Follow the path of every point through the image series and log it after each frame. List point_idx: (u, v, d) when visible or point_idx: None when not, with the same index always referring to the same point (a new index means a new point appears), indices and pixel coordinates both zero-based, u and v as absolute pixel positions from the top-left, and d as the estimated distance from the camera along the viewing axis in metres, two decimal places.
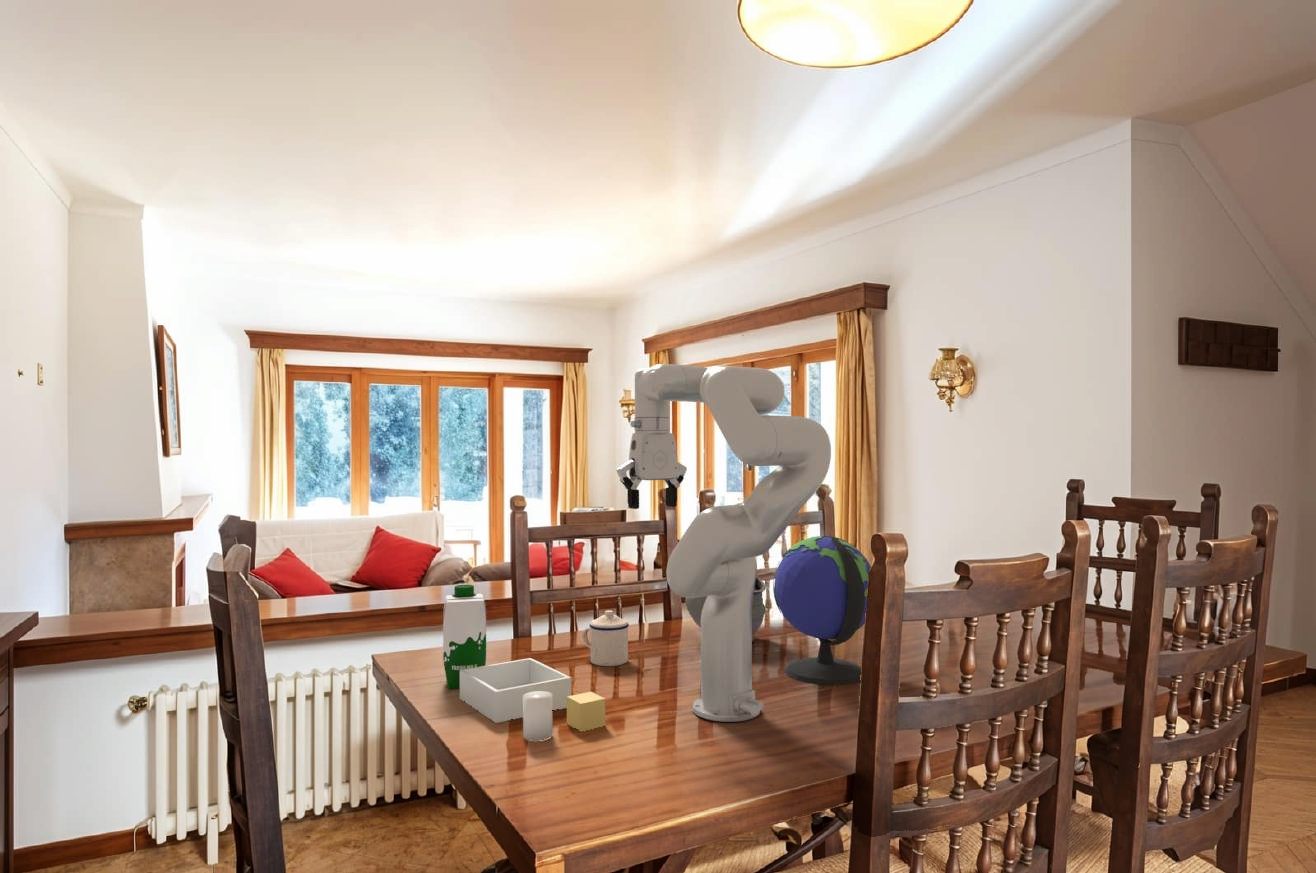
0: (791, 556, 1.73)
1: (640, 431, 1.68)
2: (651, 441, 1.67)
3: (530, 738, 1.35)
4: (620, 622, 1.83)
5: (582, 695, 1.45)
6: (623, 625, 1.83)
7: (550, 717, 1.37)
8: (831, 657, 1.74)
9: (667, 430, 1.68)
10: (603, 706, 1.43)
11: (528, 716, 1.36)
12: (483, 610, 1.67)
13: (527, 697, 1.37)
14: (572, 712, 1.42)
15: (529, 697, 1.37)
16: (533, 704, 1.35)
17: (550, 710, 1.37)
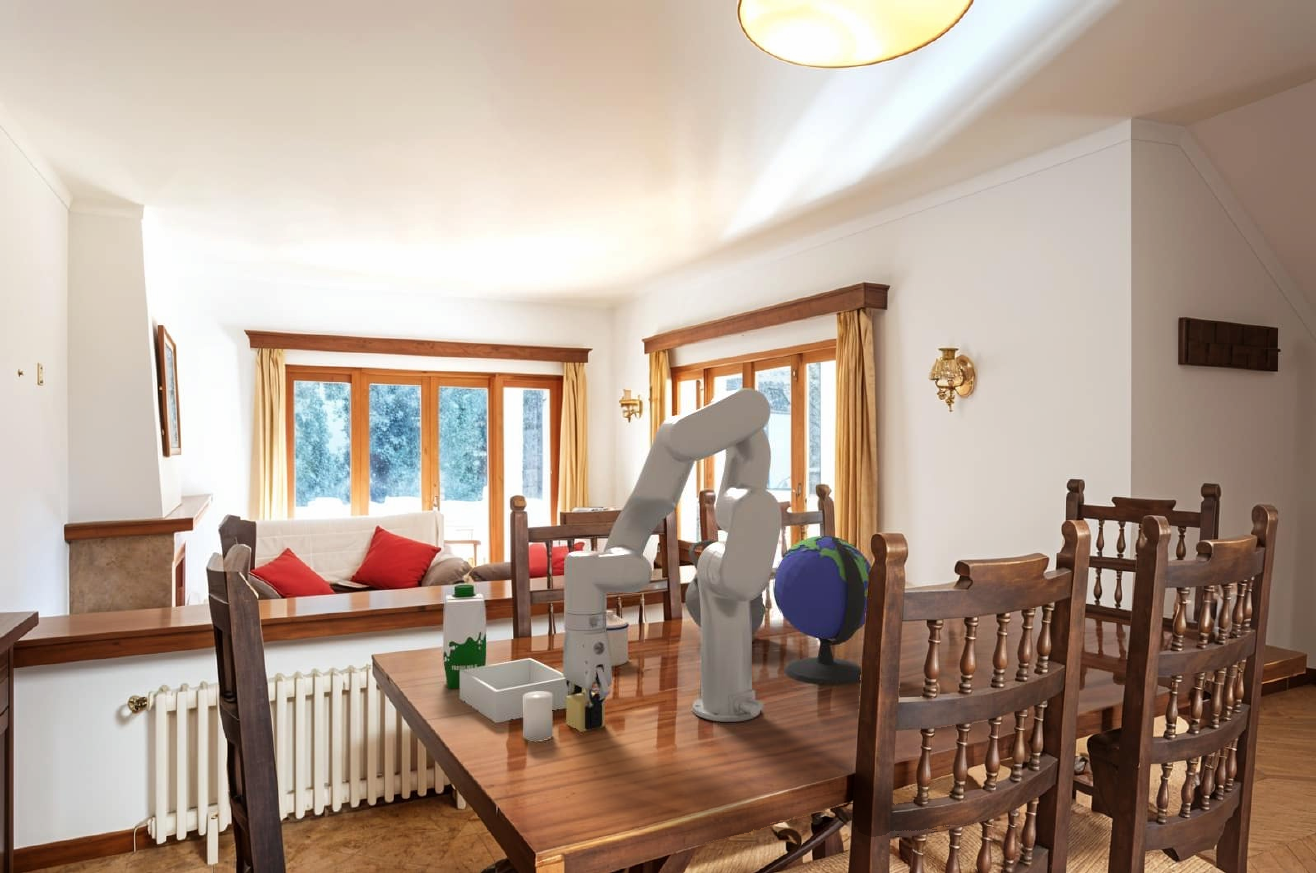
0: (791, 556, 1.73)
1: (599, 630, 1.41)
2: None
3: (530, 738, 1.35)
4: (620, 622, 1.83)
5: (582, 695, 1.44)
6: (623, 625, 1.83)
7: (550, 717, 1.37)
8: (831, 657, 1.74)
9: None
10: (603, 706, 1.42)
11: (528, 716, 1.36)
12: (483, 610, 1.67)
13: (527, 697, 1.37)
14: (572, 712, 1.42)
15: (529, 697, 1.37)
16: (533, 704, 1.35)
17: (550, 710, 1.37)
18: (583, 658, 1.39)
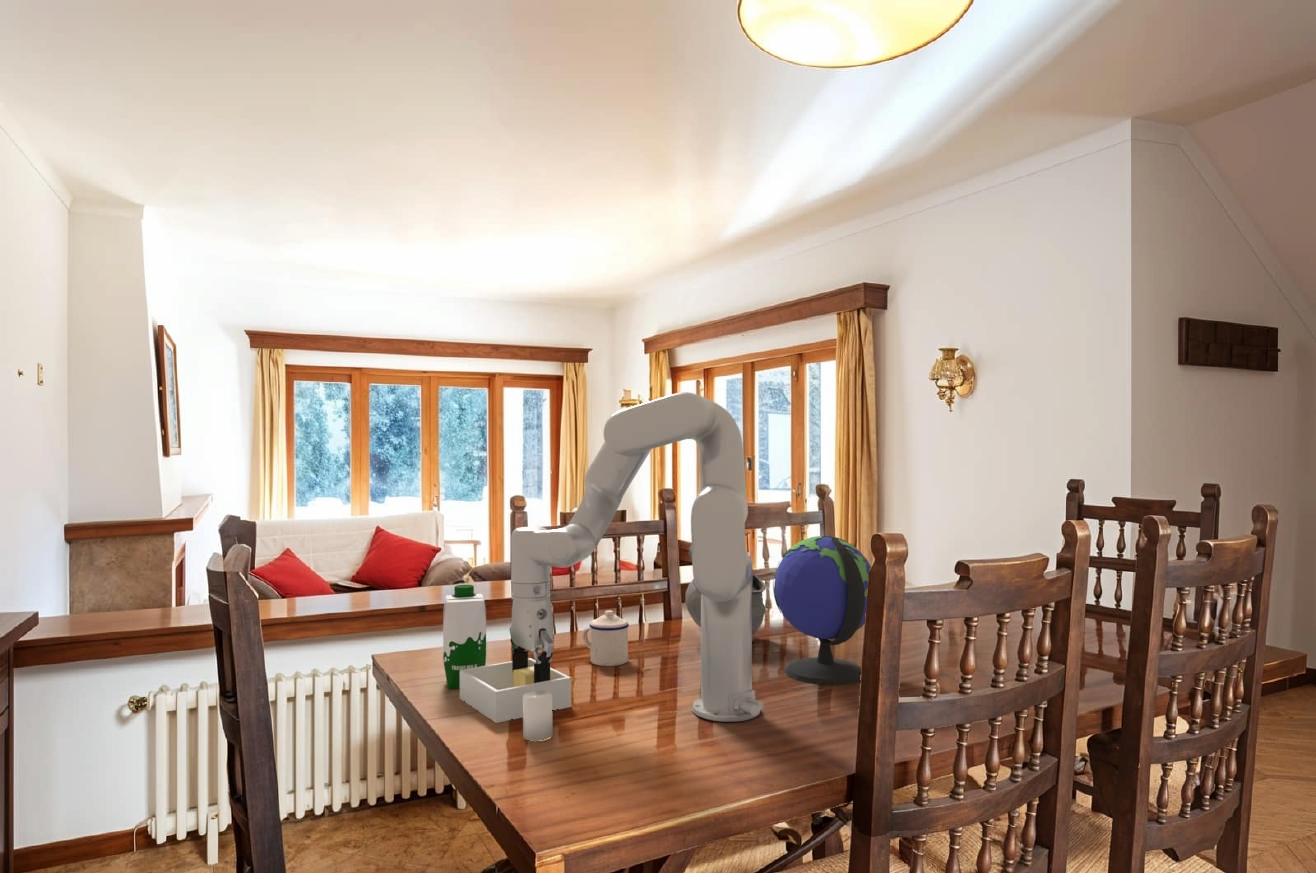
0: (791, 556, 1.73)
1: (542, 597, 1.56)
2: None
3: (530, 738, 1.35)
4: (620, 622, 1.83)
5: (527, 669, 1.59)
6: (623, 625, 1.83)
7: (550, 717, 1.37)
8: (831, 657, 1.74)
9: None
10: None
11: (528, 716, 1.36)
12: (483, 610, 1.67)
13: (527, 697, 1.37)
14: (518, 684, 1.57)
15: (529, 697, 1.37)
16: (533, 704, 1.35)
17: (550, 710, 1.37)
18: (527, 622, 1.54)
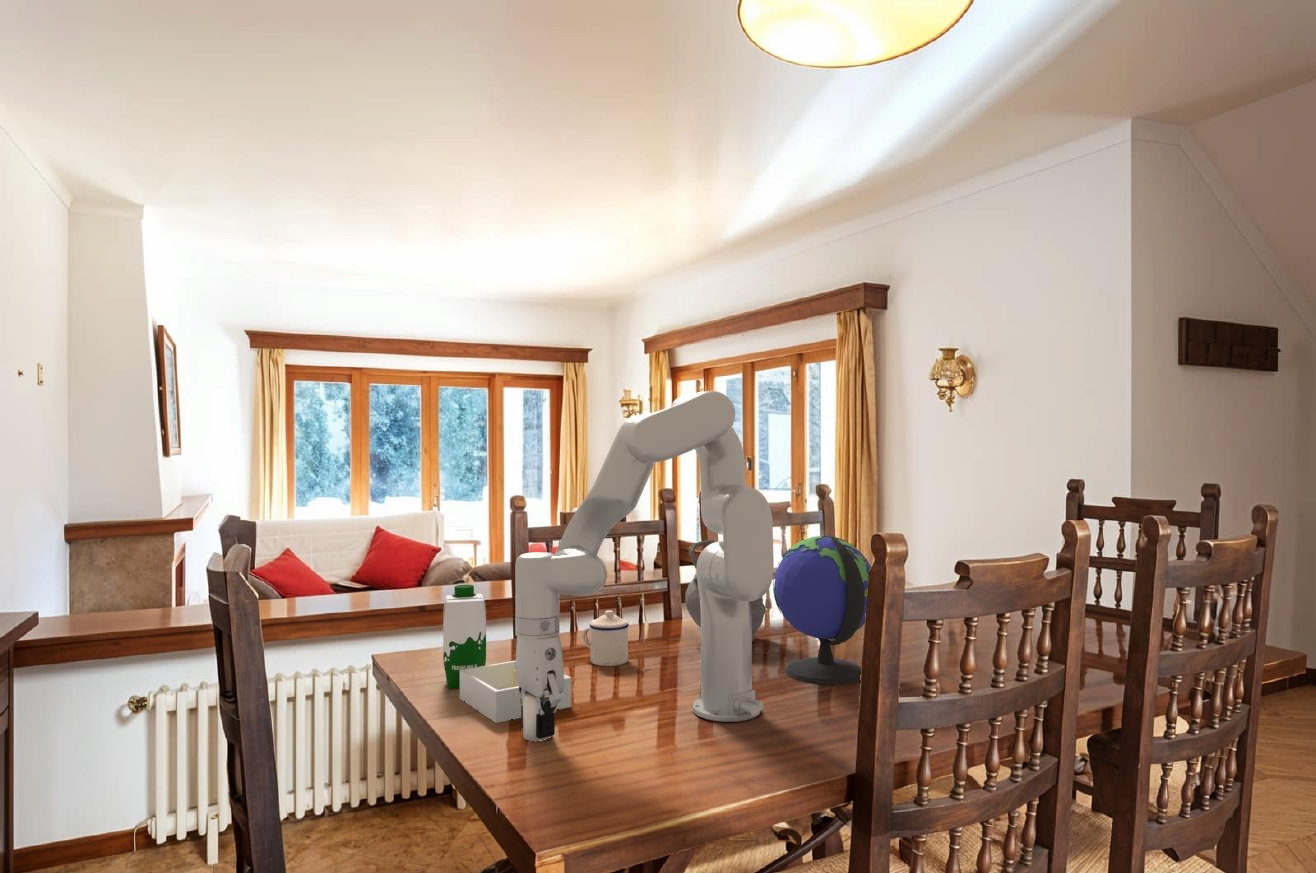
0: (791, 556, 1.73)
1: (551, 635, 1.35)
2: None
3: (530, 738, 1.35)
4: (620, 622, 1.83)
5: None
6: (623, 625, 1.83)
7: None
8: (831, 657, 1.74)
9: None
10: None
11: (528, 716, 1.36)
12: (483, 610, 1.67)
13: (527, 697, 1.37)
14: None
15: (529, 697, 1.37)
16: (533, 704, 1.35)
17: None
18: (534, 664, 1.34)
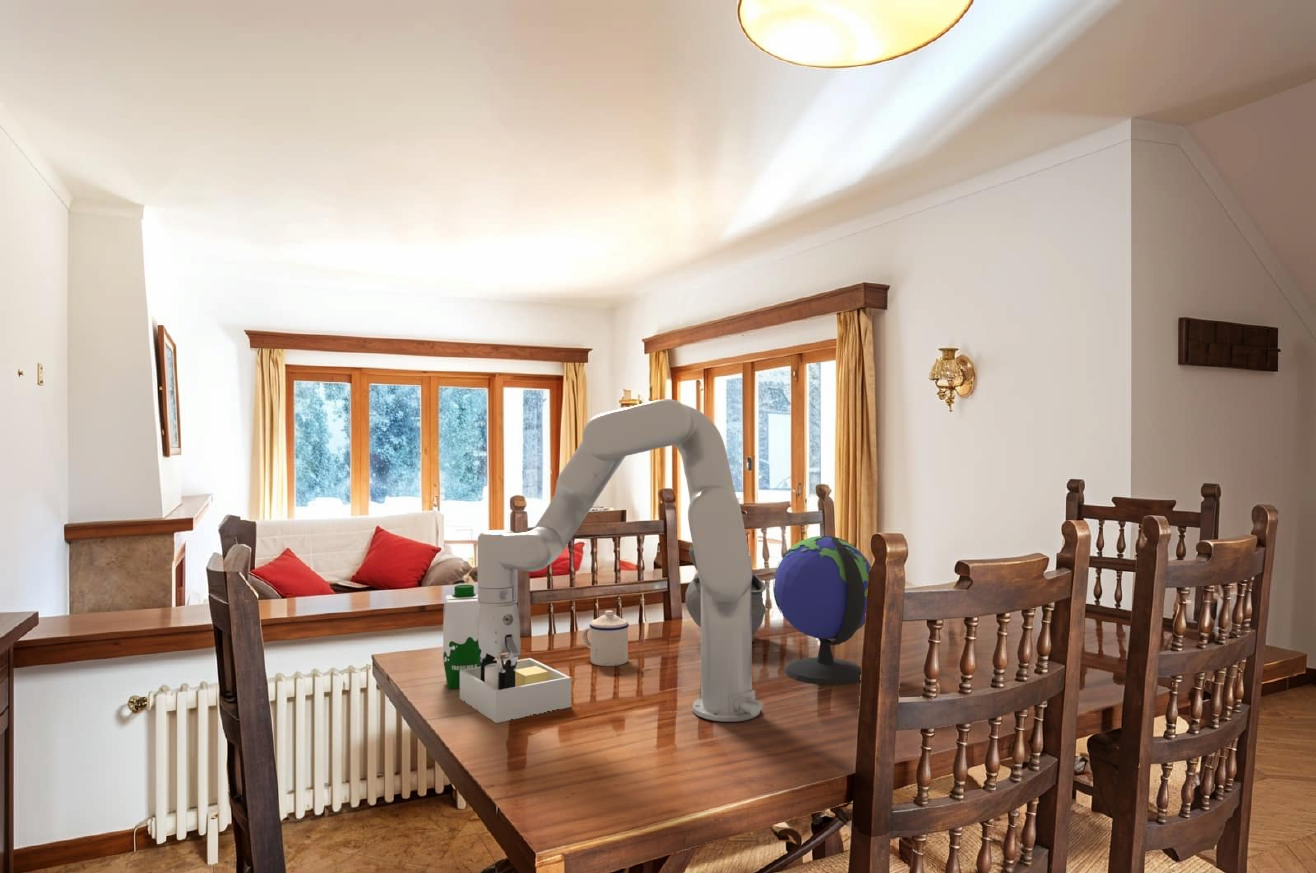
0: (791, 556, 1.73)
1: (509, 603, 1.52)
2: None
3: None
4: (620, 622, 1.83)
5: (527, 669, 1.59)
6: (623, 625, 1.83)
7: None
8: (831, 657, 1.74)
9: None
10: (546, 678, 1.57)
11: (488, 684, 1.52)
12: None
13: (488, 667, 1.53)
14: (518, 684, 1.57)
15: (490, 667, 1.53)
16: (493, 673, 1.51)
17: None
18: (493, 628, 1.50)
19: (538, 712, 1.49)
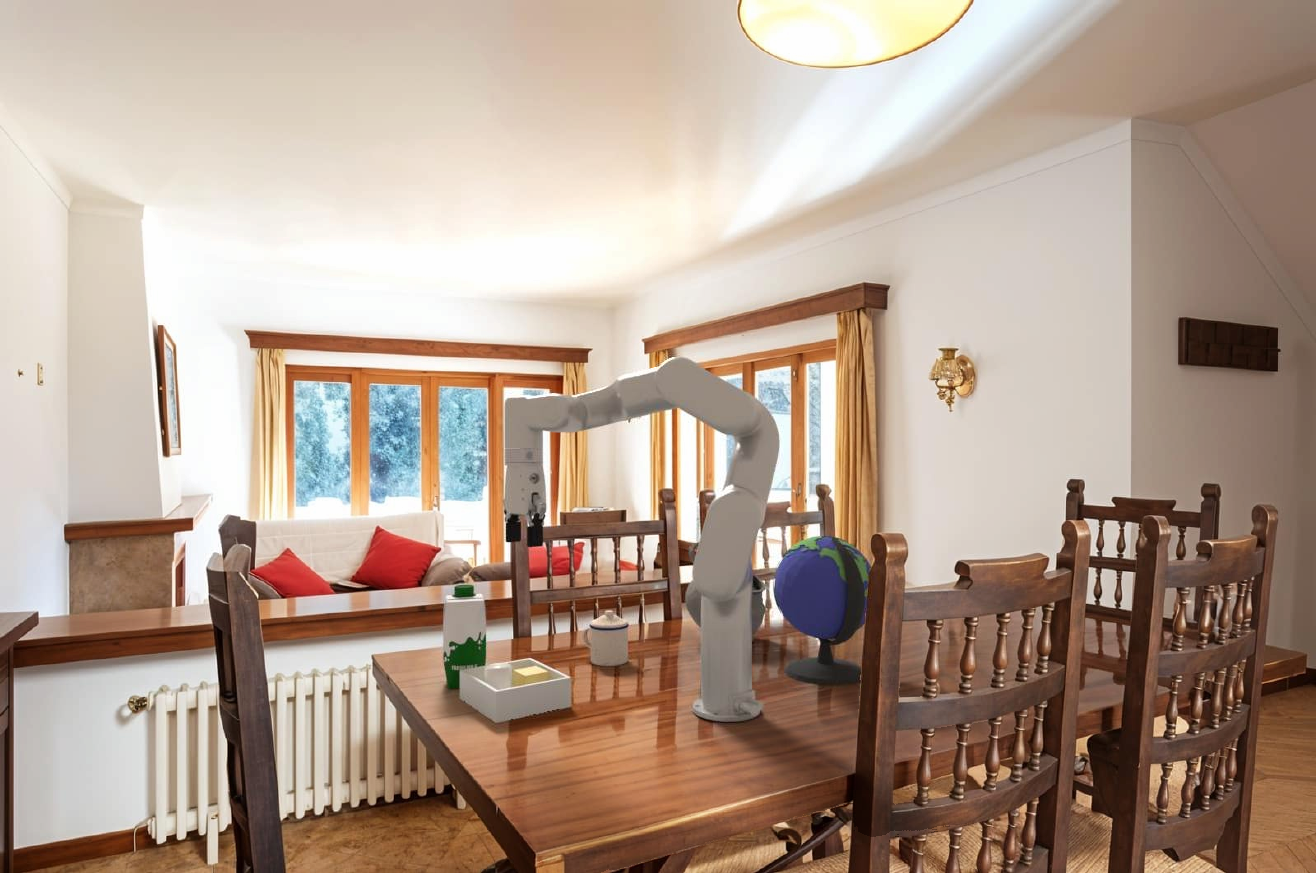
0: (791, 556, 1.73)
1: (535, 463, 1.57)
2: None
3: None
4: (620, 622, 1.83)
5: (527, 669, 1.59)
6: (623, 625, 1.83)
7: (509, 686, 1.53)
8: (831, 657, 1.74)
9: None
10: (546, 678, 1.57)
11: (488, 684, 1.52)
12: (483, 610, 1.67)
13: (488, 667, 1.53)
14: (518, 684, 1.57)
15: (490, 667, 1.53)
16: (493, 673, 1.51)
17: (509, 679, 1.53)
18: (520, 486, 1.56)
19: (538, 712, 1.49)
